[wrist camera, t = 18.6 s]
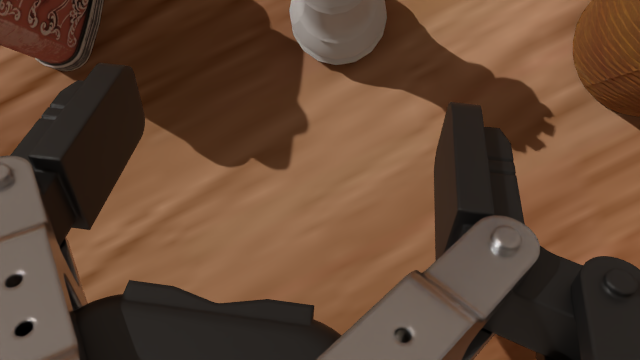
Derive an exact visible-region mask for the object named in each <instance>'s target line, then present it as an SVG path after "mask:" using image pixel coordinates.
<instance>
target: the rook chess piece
mask: <svg viewBox="0 0 640 360" xmlns="http://www.w3.org/2000/svg"><path fill="white" fill-rule="evenodd" d="M289 11H290V17H291V23H292V30H293V35H294V36H295V38H296V40H297V41H298V43H299V44H300V46H301V48H302V49H303V51H305V52H306V53H308V54H309V55H311V56H312V57H313V58H315V59H316V60H318V61H321V62H325V63H329V64H334V65H340V64H346V63H351V62H356V61H357V60H359V59H361V58H362V57H364V56H365V55H367V54H368V53H370V52H372V50H373V49H374V47H375V46H376V45H377V43H378V42H379V40H380V39H381V38H382V36H383V32H384V28H385V24H386V20H387V14H386V5H385V0H292V1H291V5H290V10H289Z"/></svg>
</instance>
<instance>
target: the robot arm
mask: <svg viewBox="0 0 640 360" xmlns="http://www.w3.org/2000/svg"><path fill="white" fill-rule="evenodd" d="M144 126H145V116H144V111H143V107H142V103H141V99H140V95H139V91H138V87H137V83H136V79H135V75H134V72H133V69H132V68H131V67H130V66H125V65H116V64H107V63H98V64H97V65H96V66H95V67H94V68H93V70H92V71H91V72H90V74H89V75H88V76H87V78H86V79H85V80H84V81H81V80H78V81H76V82H74V83H73V84H71V85H70V86H68V87H67V88H65V89H64V90H62V91H61V92H60V93H59V94H58V96H57V97H56V98H55V99H54V101H53V102H52V103H51V104H50V108H47V110H46V111H45V112H44V113H43V115H42V118H41V119H39V120H38V121H37V122H36V123H35V125H34V126H33V127H32V129H31V130H30V131H29V132H28V134H27V135H26V136H25V137H24V139H23V140H22V141H21V143H20V144H19V145H18V146H17V148H16V149H15V150H14V151H13V153H12V154H11V155H10V156H0V360H474V359H475V357H476V356H477V355H478V354H479V353H480V351H481V350H482V349H483V348H484V347H485V346H486V344H487V343H488V342H489V341H490V340H491V339H492V337H493V336H494V335H495V334H497V335H499V336H502V337H504V338H506V339H508V340H511V341H513V342H515V343H517V344H519V345H522V346H524V347H526V348H528V349H531V350H533V351H535V352H536V360H640V270H639V269H638V268H637V267H635V266H634V265H632V264H630V263H628V262H626V261H624V260H621V259H618V258H614V257H608V256H600V257H595V258H592V259H590V260H589V261H587V262H586V263H585V264H584V265H580V264H577V263H575V262H572V261H570V260H567V259H565V258H562V257H559V256H557V255H555V254H553V253H551V252H549V251H547V250H545V249H544V248H543V247H541V246H540V245H539V242H538V239H537V237H536V236H535V234H534V233H533V232H532V231H531V230H530V229H529V228H528V227H527V226H526V225H525V224H524V219H523V213H522V207H521V201H520V195H519V189H518V183H517V178H516V176H515V173H516V172H515V166H514V163H513V154H512V148H511V143H510V142H509V140H508V139H507V138H506V136H505V135H504V134H503V132H502V131H501V130H500V128H492V127H484V124H483V115H482V108H481V106H480V105H473V104H464V103H455V102H450V103H449V105H448V108H447V111H446V115H445V119H444V123H443V127H442V131H441V135H440V139H439V143H438V146H437V151H436V157H435V165H434V198H435V251H436V261H435V262H434V263H433V264H432V265H431V266H430V267H429V268H428V269H427V270H426V271H424V272H423V273H420V272H419V271H417V270H415V271H413V272H411V273H409V274H408V275H407V276H406V277H404V278H403V279H402V280H401V281H400V282H399V283H398V284H397V285H396V286H395V287H394V288H393V289H391V290H390V291H389V292H388V293H387V294H386V295H385V296H384V297H383V298H382V299H381V300H380V301H379V302H377V303H376V304H375V305H374V306H373V307H372V308H371V309H370V310H369V311H368V312H367V313H366V314H365V315H364V316H362V317H361V318H360V319H359V320H358V321H357V322H356V323H355V324H354V325H353V326H352V327H351V328H350V329H348V330H347V331H346V332H345V333H344V334H343V335H340V334H339V333H338V332H336V331H335V330H333V329H332V328H330V327H328V326H327V325H325V324H323V323H321V322H318V321H316V320H314V319H313V316H314V305H306V304H299V303H292V302H284V301H277V300H270V299H265V300H254V301H243V302H232V303H214V302H211V301H209V300H206V299H204V298H201V297H199V296H197V295H194V294H192V293H189V292H187V291H184V290H182V289H179V288H177V287H174V286H168V285H161V284H153V283H146V282H139V281H131V280H129V282H128V284H127V286H126V289H125V291H124V293H123V294H120V295H114V296H109V297H105V298H102V299H99V300H96V301H93V302H91V303H89V304H88V302H87V300H86V297H85V294H84V291H83V287H82V284H81V281H80V278H79V274H78V271H77V268H76V265H75V261H74V258H73V255H72V252H71V249H70V245H69V243H68V240H67V238H66V236H67V234H68V232H69V231H70V229H71V227H72V228H80V229H87V230H90V229H91V227H92V225H93V223H94V221H95V220H96V218H97V216H98V214H99V212H100V211H101V209H102V207H103V205H104V204H105V202H106V200H107V198H108V196H109V195H110V193H111V191H112V189H113V187H114V186H115V184H116V182H117V180H118V178H119V177H120V175H121V173H122V171H123V169H124V168H125V166H126V164H127V162H128V160H129V159H130V157H131V155H132V153H133V151H134V150H135V148H136V146H137V144H138V143H139V141H140V139H141V137H142V135H143V131H144Z"/></svg>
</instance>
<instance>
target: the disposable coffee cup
mask: <svg viewBox="0 0 640 360" xmlns="http://www.w3.org/2000/svg"><path fill="white" fill-rule="evenodd" d="M573 58H574V64H575V67H576V70H577V72H578V75H579V78H580V79H581V81H582V83H583V85H584V87H585V88H586V89H587V90H588V91H589V92H590V93H591V94H592V95H593V96H594V97H595V98H596V99H597V100H598V101H599V102H600V103H602V104H603V105H605V106H606V107H608V108H610V109H612V110H614V111H617V112H619V113H622V114H627V115H632V116H637V117H640V0H592V1H591V2H590V4H589V5H588V6H587V8H586V9H585V10H584V12H583V13H582V15H581V17H580V19H579V21H578V23H577V26H576V31H575V35H574V40H573Z"/></svg>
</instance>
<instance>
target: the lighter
mask: <svg viewBox="0 0 640 360" xmlns="http://www.w3.org/2000/svg"><path fill="white" fill-rule="evenodd" d="M103 1H104V0H0V45H2V46H4V47H7V48H10V49H13V50H15V51H18V52H21V53H23V54H26V55H29V56H31V57H34V58H35V59H36V60H37V61H38V62H40V63H42V64H43V65H45V66H48V67H51V68H53V69H57V70H61V71H72V70H75V69H77V68H80V67H81V66H82V65H84V64H85V63H86V62H87V60H88V58H89V56H90V54H91V51H92V48H93V44H94V41H95V38H96V34H97V31H98V28H99V24H100V18H101V13H102V7H103Z"/></svg>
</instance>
